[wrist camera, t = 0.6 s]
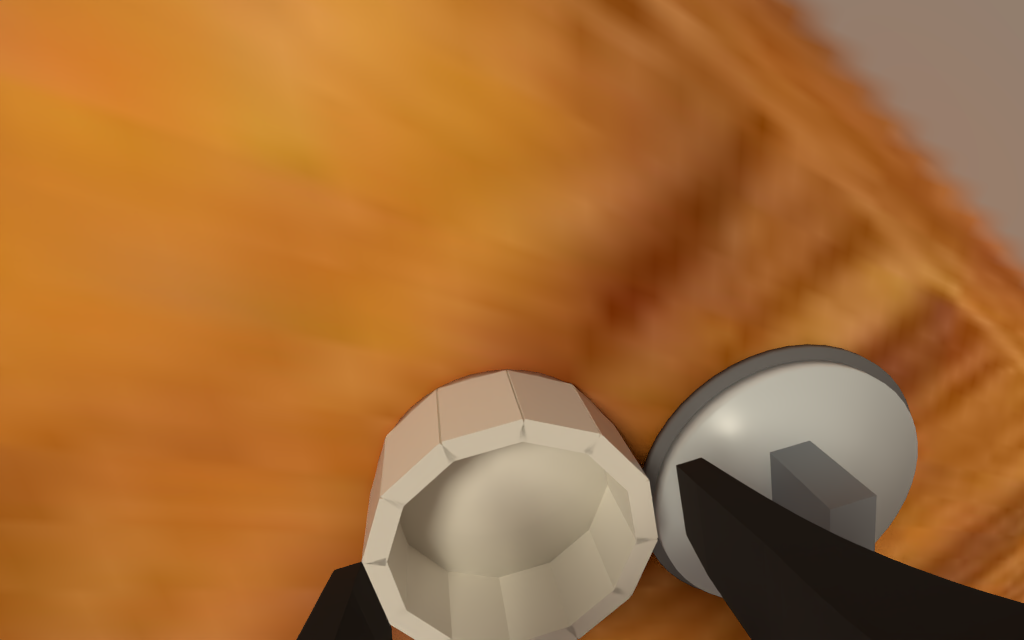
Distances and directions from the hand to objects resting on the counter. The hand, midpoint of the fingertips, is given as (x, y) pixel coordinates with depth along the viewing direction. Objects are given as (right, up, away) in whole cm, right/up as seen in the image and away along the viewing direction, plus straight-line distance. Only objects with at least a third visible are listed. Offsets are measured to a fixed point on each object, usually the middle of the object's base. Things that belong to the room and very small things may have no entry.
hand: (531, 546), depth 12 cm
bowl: (-1, -2, +10) cm, 11 cm away
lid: (+12, -2, +12) cm, 17 cm away
